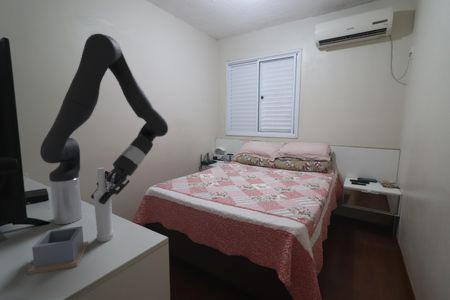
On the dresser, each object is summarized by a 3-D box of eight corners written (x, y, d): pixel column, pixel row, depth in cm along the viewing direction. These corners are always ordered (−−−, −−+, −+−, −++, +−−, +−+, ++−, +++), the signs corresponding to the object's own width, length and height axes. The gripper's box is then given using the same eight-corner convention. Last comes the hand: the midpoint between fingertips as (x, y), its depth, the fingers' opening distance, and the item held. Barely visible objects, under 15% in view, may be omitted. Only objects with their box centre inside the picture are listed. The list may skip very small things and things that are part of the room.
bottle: (93, 240, 72) (87, 169, 68) (106, 232, 76) (101, 165, 73) (104, 243, 70) (99, 170, 66) (117, 235, 75) (113, 167, 71)
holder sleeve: (48, 249, 66) (45, 229, 65) (88, 244, 69) (86, 224, 68) (28, 274, 56) (25, 250, 55) (76, 266, 59) (74, 243, 58)
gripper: (112, 151, 79) (78, 190, 71) (133, 156, 71) (97, 201, 63) (126, 163, 84) (96, 200, 76) (147, 169, 76) (116, 211, 68)
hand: (97, 200), depth 70 cm, fingers closed on bottle, 5 cm apart
